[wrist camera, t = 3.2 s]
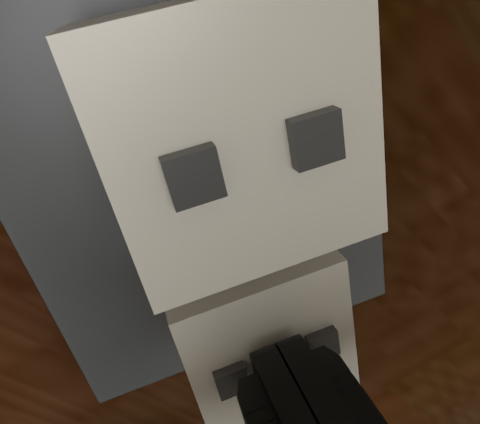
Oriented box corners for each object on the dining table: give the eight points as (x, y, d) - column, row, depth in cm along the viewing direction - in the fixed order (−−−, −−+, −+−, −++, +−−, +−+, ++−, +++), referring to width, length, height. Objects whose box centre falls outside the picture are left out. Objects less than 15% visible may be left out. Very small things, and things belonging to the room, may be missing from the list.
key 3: (289, 201, 15) (352, 265, 11) (307, 309, 18) (364, 391, 14) (150, 248, 14) (170, 333, 11) (189, 354, 17) (215, 455, 13)
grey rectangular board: (321, -465, 10) (343, -509, 9) (372, 281, 20) (384, 293, 20) (-328, -429, 8) (-380, -483, 7) (99, 384, 18) (99, 403, 17)
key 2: (279, -26, 10) (386, -45, 6) (306, 169, 12) (396, 237, 9) (64, 25, 9) (42, 37, 6) (136, 223, 12) (156, 324, 8)
